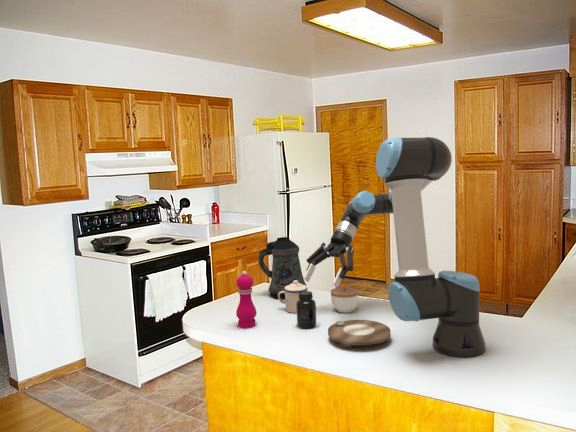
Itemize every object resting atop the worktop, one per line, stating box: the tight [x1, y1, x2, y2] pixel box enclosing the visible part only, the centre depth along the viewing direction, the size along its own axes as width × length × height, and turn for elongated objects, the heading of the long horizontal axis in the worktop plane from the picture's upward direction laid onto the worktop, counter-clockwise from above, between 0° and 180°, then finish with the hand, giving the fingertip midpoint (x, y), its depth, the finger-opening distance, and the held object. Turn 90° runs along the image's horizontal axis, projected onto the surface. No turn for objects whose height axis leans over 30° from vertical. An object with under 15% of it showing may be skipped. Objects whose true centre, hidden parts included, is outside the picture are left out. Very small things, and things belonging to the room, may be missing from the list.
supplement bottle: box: [296, 290, 317, 330], centre depth 175 cm, size 7×7×12 cm
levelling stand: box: [327, 319, 391, 350], centre depth 161 cm, size 20×20×4 cm
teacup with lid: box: [277, 280, 308, 314], centre depth 193 cm, size 12×9×12 cm
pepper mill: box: [235, 270, 257, 329], centre depth 177 cm, size 7×7×20 cm
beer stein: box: [257, 236, 307, 301], centre depth 213 cm, size 16×19×25 cm
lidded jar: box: [330, 285, 360, 314], centre depth 190 cm, size 11×11×9 cm
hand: (320, 282), depth 181 cm, fingers open, 13 cm apart
